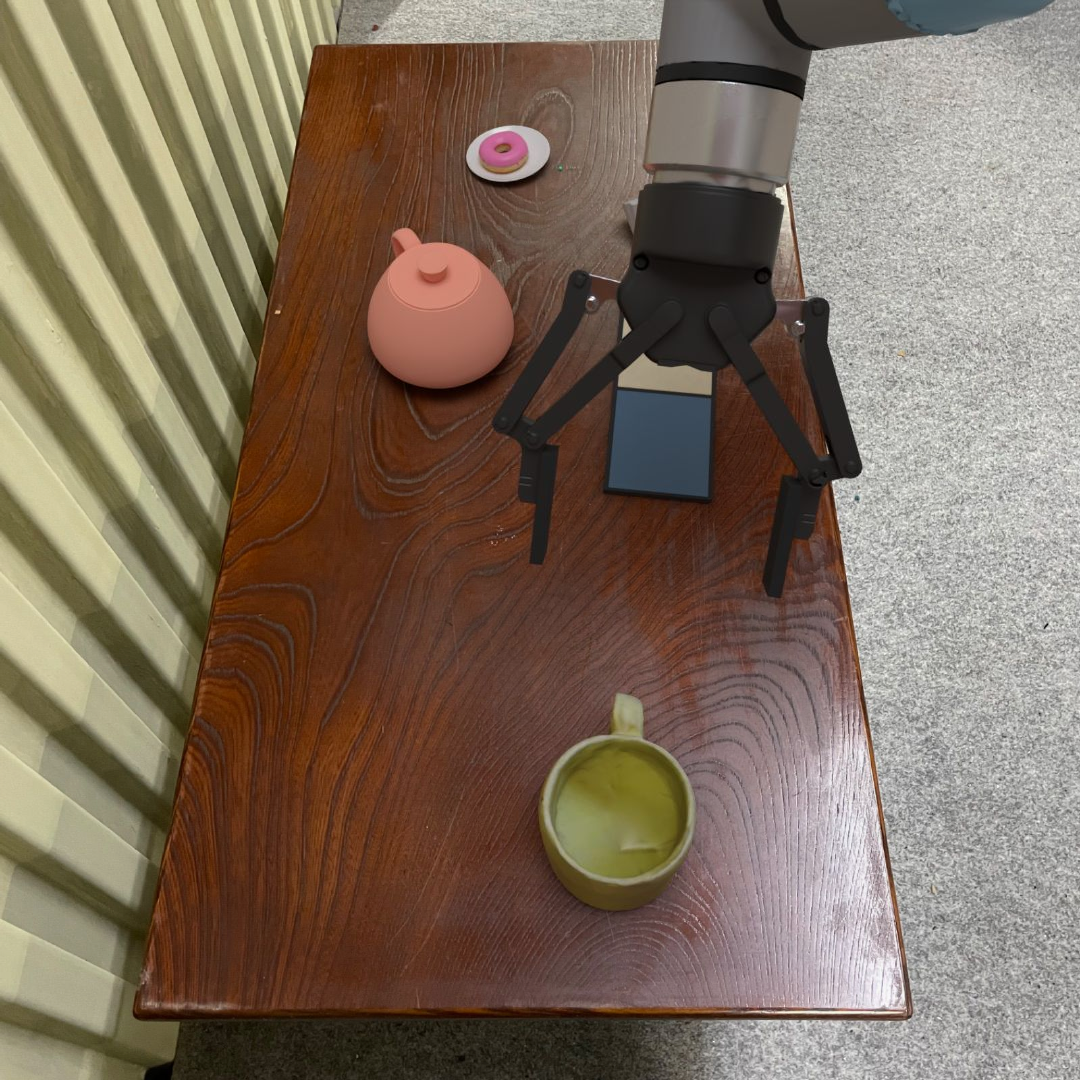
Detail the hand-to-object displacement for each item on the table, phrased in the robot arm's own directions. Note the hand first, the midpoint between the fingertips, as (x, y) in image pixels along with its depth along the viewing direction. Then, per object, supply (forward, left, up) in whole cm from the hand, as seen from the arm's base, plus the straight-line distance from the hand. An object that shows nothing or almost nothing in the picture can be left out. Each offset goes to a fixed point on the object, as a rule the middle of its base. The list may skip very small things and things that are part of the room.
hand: (653, 574), depth 55 cm
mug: (-5, +10, -15) cm, 18 cm away
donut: (+36, -39, -15) cm, 56 cm away
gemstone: (+20, -37, -15) cm, 45 cm away
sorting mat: (+10, -22, -15) cm, 28 cm away
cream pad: (+12, -26, -15) cm, 33 cm away
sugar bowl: (+29, -16, -15) cm, 37 cm away
